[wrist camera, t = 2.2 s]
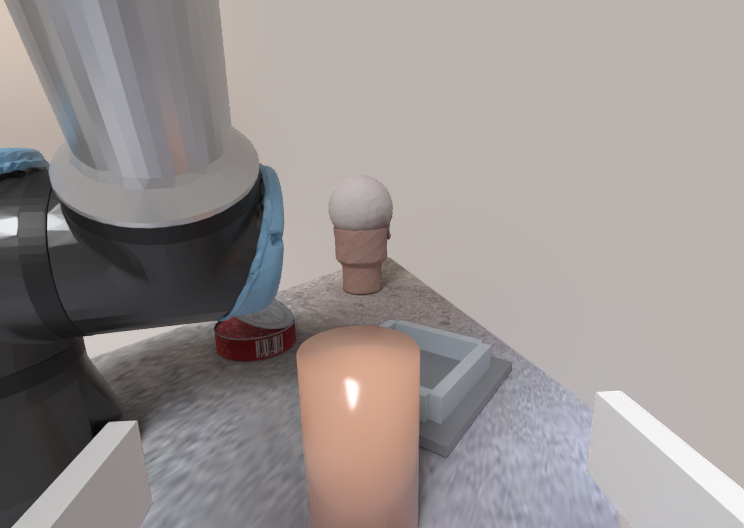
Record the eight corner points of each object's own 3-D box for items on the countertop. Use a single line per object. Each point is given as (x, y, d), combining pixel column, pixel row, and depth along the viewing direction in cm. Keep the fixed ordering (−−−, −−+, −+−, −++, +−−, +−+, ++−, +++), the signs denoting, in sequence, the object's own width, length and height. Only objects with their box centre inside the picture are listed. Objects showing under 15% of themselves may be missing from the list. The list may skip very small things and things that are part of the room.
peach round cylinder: (285, 530, 25) (269, 357, 22) (354, 463, 31) (349, 317, 28) (376, 599, 21) (372, 398, 18) (437, 507, 27) (441, 341, 24)
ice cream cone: (405, 289, 71) (405, 174, 66) (356, 303, 65) (353, 177, 60) (367, 276, 79) (364, 174, 74) (320, 288, 73) (314, 176, 68)
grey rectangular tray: (300, 392, 40) (298, 360, 39) (388, 335, 53) (388, 311, 52) (446, 457, 31) (447, 418, 30) (511, 370, 43) (513, 341, 43)
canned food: (260, 357, 57) (279, 290, 59) (302, 374, 50) (322, 298, 52) (183, 347, 49) (207, 269, 51) (220, 365, 43) (247, 275, 44)
